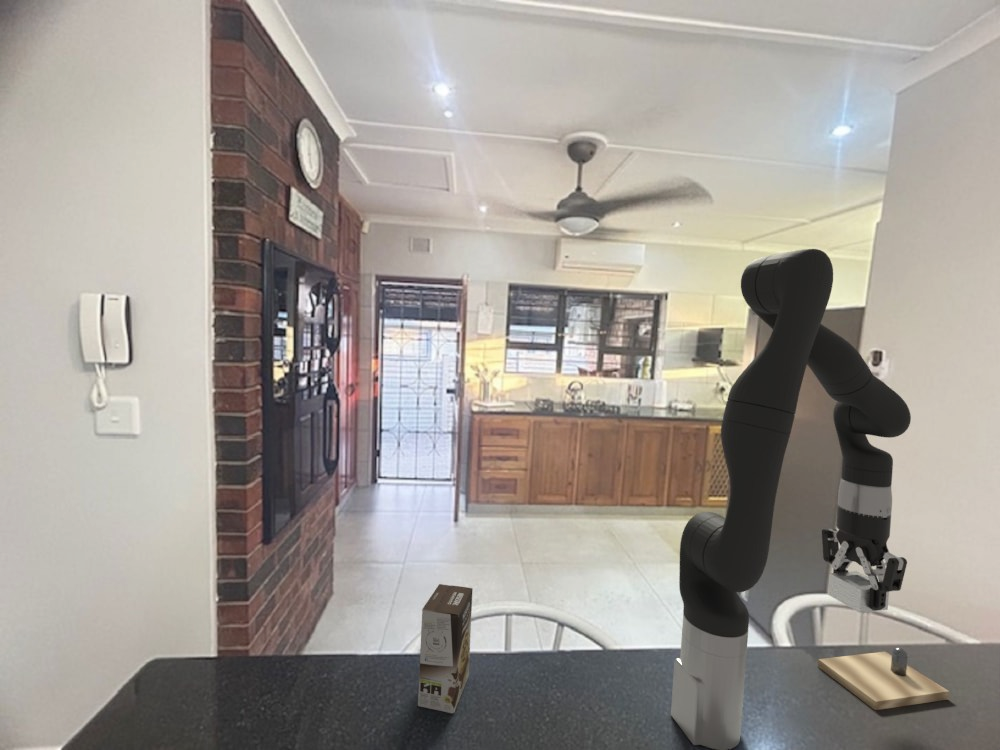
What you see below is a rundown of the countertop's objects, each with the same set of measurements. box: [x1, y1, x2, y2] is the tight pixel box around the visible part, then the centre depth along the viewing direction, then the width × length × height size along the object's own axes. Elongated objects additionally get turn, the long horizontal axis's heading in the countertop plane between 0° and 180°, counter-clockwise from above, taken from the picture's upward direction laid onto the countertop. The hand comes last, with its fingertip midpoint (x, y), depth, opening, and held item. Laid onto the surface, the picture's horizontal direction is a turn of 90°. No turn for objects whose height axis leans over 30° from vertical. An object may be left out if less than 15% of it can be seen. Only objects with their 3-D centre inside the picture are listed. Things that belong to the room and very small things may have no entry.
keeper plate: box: [817, 646, 950, 711], centre depth 86 cm, size 16×11×6 cm
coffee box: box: [417, 583, 473, 714], centre depth 78 cm, size 9×6×16 cm
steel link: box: [827, 570, 890, 614], centre depth 83 cm, size 6×6×4 cm
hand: (857, 598), depth 84 cm, fingers closed on steel link, 6 cm apart
